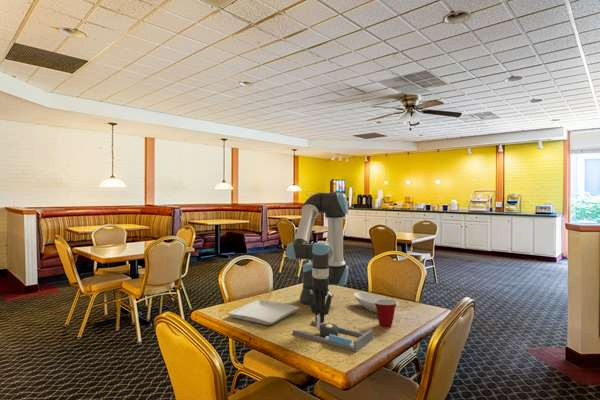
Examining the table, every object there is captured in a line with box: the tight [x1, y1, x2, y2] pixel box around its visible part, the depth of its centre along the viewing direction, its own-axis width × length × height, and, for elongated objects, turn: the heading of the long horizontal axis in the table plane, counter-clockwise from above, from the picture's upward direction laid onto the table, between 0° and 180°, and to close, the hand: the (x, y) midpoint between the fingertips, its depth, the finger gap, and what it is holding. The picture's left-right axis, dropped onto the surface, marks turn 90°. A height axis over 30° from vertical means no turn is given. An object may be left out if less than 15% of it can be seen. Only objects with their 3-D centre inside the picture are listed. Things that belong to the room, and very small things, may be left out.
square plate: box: [227, 299, 300, 326], centre depth 182 cm, size 27×27×4 cm
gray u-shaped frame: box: [292, 320, 374, 353], centre depth 155 cm, size 32×16×4 cm, turn 54°
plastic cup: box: [374, 298, 398, 329], centre depth 169 cm, size 11×11×12 cm
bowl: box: [353, 291, 399, 314], centre depth 194 cm, size 30×15×6 cm, turn 33°
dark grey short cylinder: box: [319, 322, 339, 338], centre depth 156 cm, size 8×8×4 cm
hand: (319, 329), depth 159 cm, fingers closed
